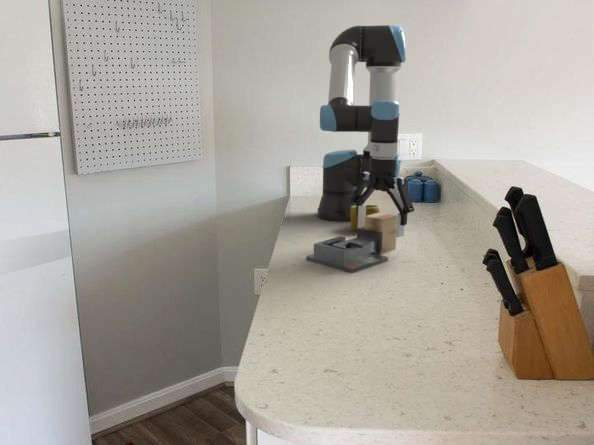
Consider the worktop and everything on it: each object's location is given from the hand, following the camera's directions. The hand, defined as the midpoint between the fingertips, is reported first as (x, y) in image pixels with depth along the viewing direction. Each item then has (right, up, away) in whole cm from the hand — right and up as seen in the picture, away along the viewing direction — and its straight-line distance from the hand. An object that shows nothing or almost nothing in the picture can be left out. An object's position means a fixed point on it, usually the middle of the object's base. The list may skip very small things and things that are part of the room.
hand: (380, 231), depth 168 cm
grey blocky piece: (-7, -6, -8) cm, 12 cm away
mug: (-2, 0, +24) cm, 24 cm away
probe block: (0, -5, +1) cm, 5 cm away
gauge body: (-10, -7, -9) cm, 15 cm away
